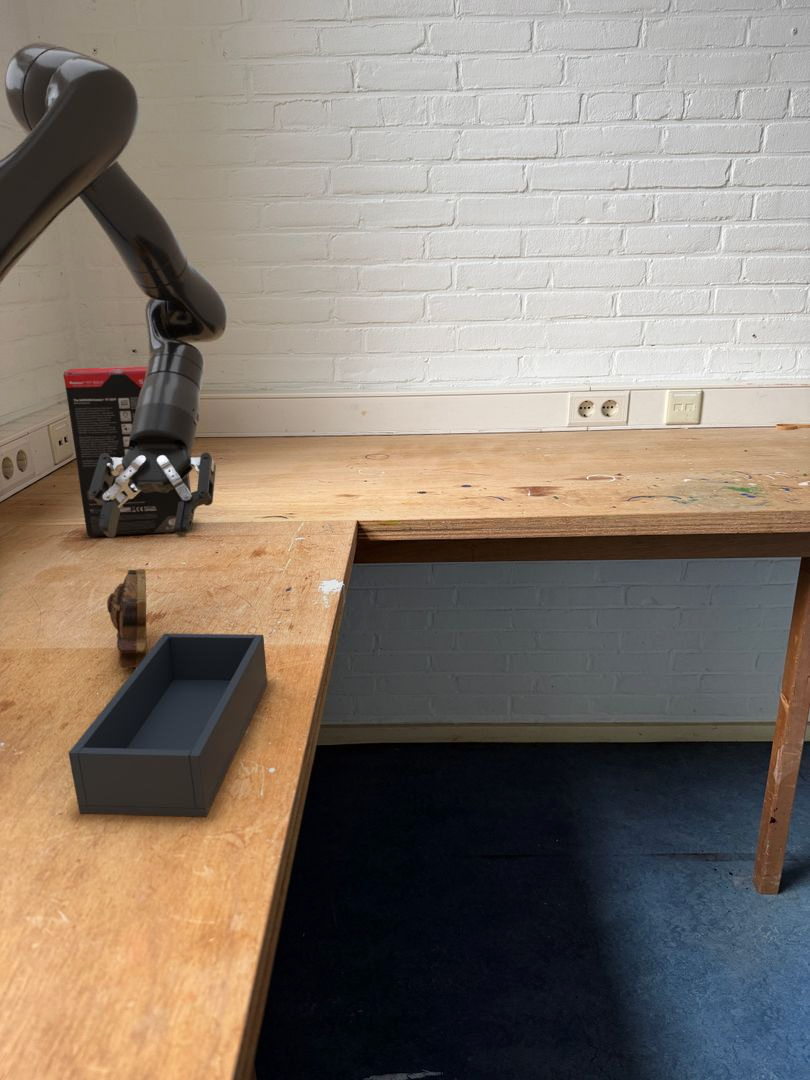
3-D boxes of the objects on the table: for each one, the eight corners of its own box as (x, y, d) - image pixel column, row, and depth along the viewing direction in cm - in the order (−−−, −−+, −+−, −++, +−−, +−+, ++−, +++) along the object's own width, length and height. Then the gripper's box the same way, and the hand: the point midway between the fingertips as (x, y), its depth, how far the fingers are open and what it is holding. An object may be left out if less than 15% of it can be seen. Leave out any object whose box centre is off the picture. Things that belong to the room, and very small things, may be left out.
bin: (79, 813, 65) (67, 752, 63) (170, 682, 85) (163, 633, 84) (206, 817, 64) (199, 755, 62) (267, 683, 85) (263, 634, 83)
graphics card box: (196, 520, 140) (179, 362, 131) (193, 533, 133) (174, 367, 124) (94, 527, 137) (69, 366, 128) (86, 540, 131) (59, 372, 122)
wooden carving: (112, 633, 97) (100, 556, 94) (151, 626, 99) (141, 550, 95) (119, 696, 83) (106, 608, 79) (165, 688, 84) (154, 601, 81)
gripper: (99, 400, 97) (70, 519, 90) (214, 399, 96) (194, 519, 89) (122, 435, 104) (97, 547, 97) (230, 434, 103) (212, 548, 96)
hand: (143, 534), depth 93 cm, fingers open, 8 cm apart
